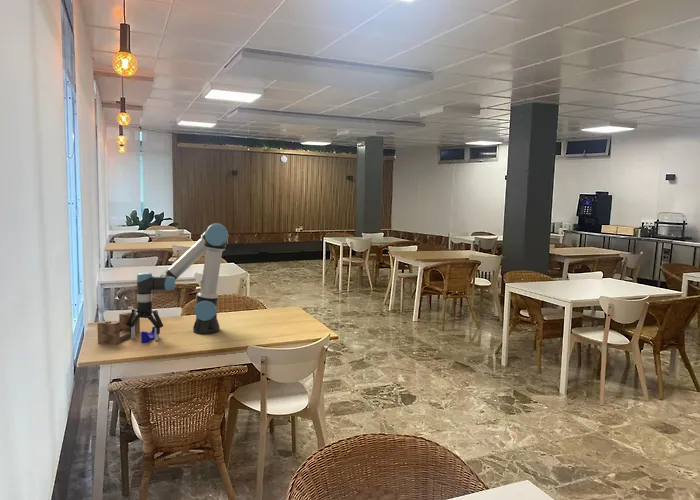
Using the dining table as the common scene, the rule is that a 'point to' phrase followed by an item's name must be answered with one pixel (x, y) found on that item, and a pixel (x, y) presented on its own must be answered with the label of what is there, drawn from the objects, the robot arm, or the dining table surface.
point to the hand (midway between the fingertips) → (144, 339)
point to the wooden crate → (116, 329)
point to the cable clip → (148, 336)
